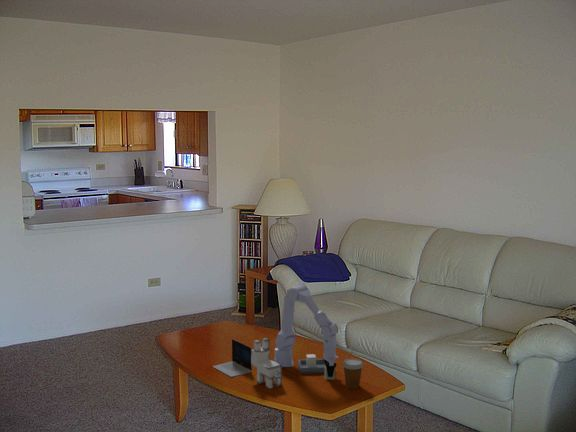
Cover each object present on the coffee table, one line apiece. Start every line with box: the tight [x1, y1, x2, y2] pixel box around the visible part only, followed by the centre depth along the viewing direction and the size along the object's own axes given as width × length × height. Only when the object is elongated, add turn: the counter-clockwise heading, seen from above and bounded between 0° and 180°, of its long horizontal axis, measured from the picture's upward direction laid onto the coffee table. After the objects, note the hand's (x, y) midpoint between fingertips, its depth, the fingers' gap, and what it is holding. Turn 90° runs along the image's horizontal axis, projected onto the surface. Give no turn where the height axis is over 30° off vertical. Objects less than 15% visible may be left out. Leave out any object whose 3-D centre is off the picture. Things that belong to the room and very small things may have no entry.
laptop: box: [212, 338, 253, 378], centre depth 333 cm, size 18×12×13 cm
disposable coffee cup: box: [342, 358, 364, 390], centre depth 311 cm, size 10×10×12 cm
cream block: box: [305, 353, 317, 367], centre depth 334 cm, size 4×4×6 cm
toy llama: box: [251, 337, 283, 390], centre depth 315 cm, size 8×18×20 cm, turn 37°
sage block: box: [323, 366, 336, 380], centre depth 322 cm, size 4×4×6 cm
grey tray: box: [297, 358, 325, 375], centre depth 334 cm, size 17×12×3 cm
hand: (329, 374), depth 323 cm, fingers closed on sage block, 4 cm apart
